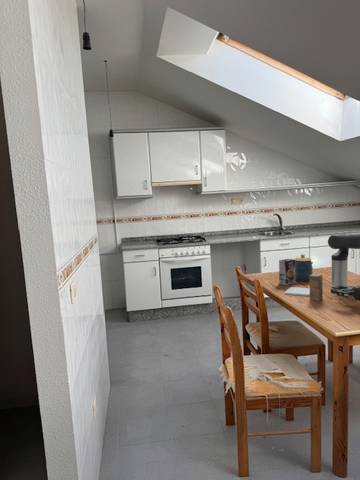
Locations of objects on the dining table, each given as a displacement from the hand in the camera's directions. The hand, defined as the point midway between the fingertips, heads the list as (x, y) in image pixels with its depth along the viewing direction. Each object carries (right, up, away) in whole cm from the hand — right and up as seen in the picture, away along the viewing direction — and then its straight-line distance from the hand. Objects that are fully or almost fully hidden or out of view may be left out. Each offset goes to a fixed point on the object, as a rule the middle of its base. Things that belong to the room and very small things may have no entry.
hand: (335, 289), depth 201 cm
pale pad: (-11, -5, +26) cm, 28 cm away
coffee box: (-12, -3, +48) cm, 50 cm away
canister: (+2, -1, +57) cm, 57 cm away
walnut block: (-7, -7, +9) cm, 14 cm away
